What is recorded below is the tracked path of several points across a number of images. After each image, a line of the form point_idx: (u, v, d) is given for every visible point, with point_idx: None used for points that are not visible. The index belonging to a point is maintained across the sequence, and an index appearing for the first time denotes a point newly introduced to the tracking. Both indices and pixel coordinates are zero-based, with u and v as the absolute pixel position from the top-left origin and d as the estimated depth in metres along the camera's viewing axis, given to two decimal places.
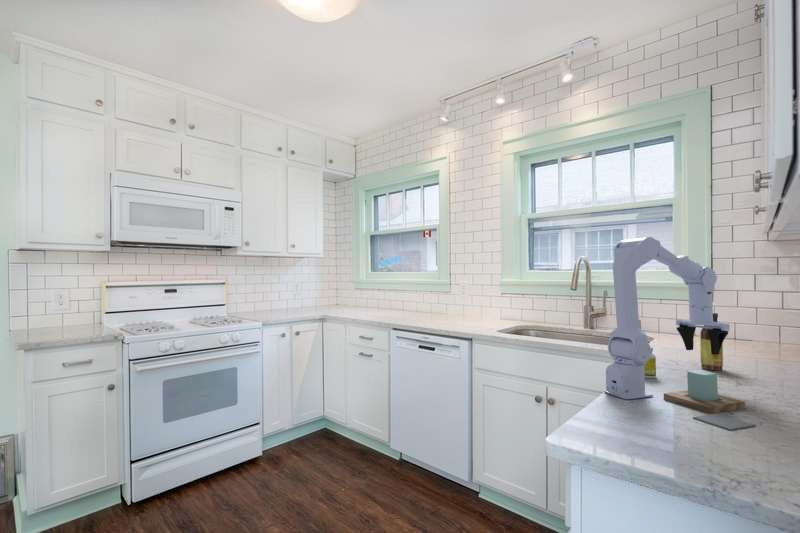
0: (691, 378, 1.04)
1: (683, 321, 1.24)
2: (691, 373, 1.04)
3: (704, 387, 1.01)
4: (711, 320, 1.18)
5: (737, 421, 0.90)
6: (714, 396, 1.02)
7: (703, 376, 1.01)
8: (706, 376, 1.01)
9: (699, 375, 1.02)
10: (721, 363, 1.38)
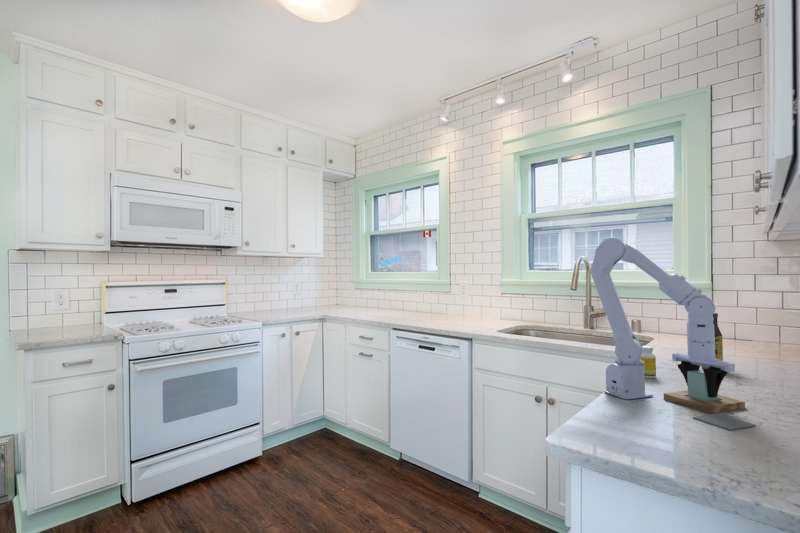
0: (691, 378, 1.04)
1: (681, 357, 1.07)
2: (691, 373, 1.04)
3: (704, 387, 1.01)
4: (713, 358, 1.01)
5: (737, 421, 0.90)
6: None
7: (703, 376, 1.01)
8: None
9: (699, 375, 1.02)
10: None
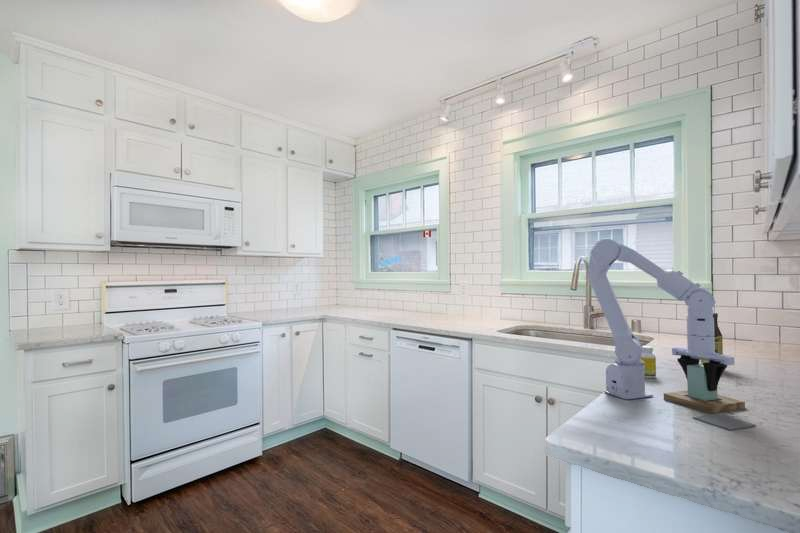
0: (691, 372, 1.04)
1: (680, 351, 1.07)
2: (691, 367, 1.04)
3: (704, 381, 1.01)
4: (713, 351, 1.01)
5: (737, 421, 0.90)
6: None
7: (703, 370, 1.01)
8: None
9: (699, 369, 1.02)
10: None
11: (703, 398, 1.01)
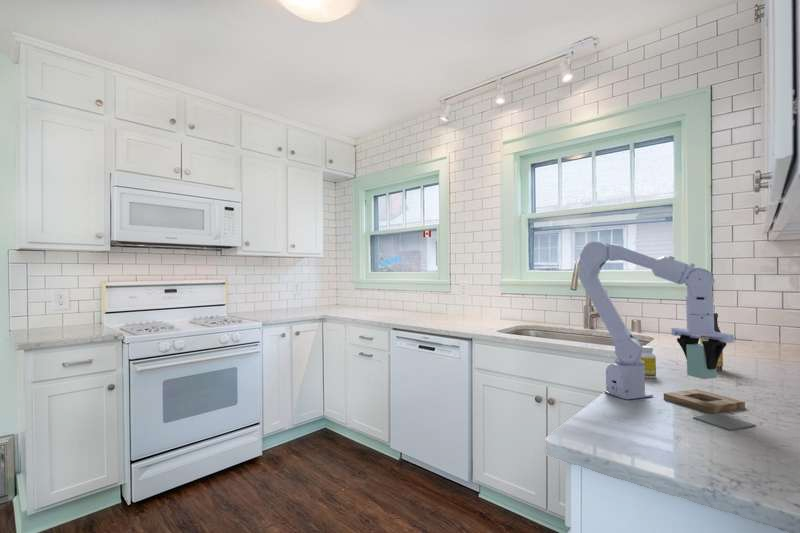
0: (690, 351, 1.04)
1: (680, 331, 1.08)
2: (690, 346, 1.04)
3: (703, 359, 1.01)
4: (712, 330, 1.02)
5: (737, 421, 0.90)
6: None
7: (702, 348, 1.02)
8: None
9: (698, 347, 1.02)
10: (721, 363, 1.38)
11: (702, 376, 1.01)
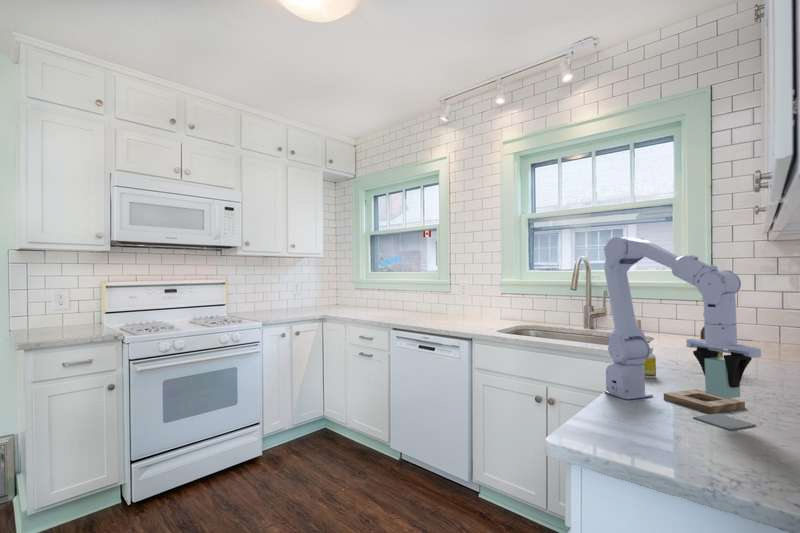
0: (709, 366, 0.91)
1: (696, 342, 0.94)
2: (709, 360, 0.91)
3: (725, 376, 0.88)
4: (735, 342, 0.88)
5: (737, 421, 0.90)
6: None
7: (723, 363, 0.88)
8: None
9: (719, 362, 0.89)
10: None
11: (724, 396, 0.88)
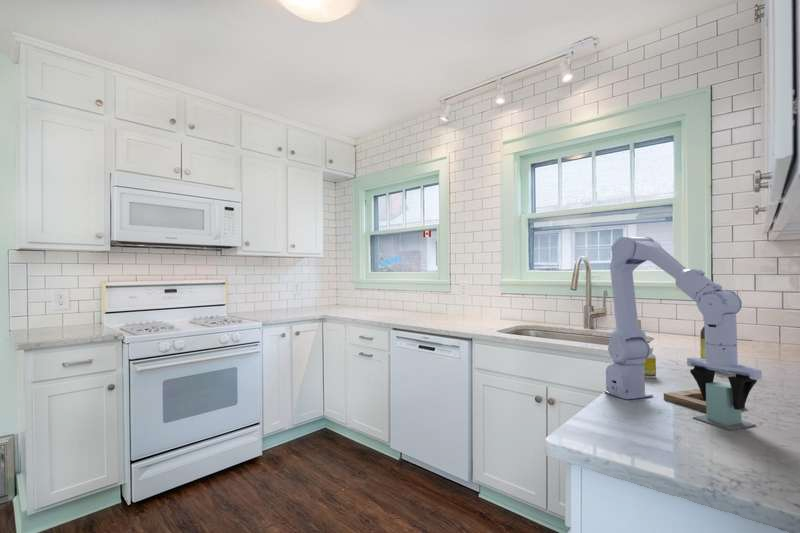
0: (710, 391, 0.91)
1: (697, 362, 0.94)
2: (710, 385, 0.91)
3: (726, 402, 0.88)
4: (735, 363, 0.88)
5: None
6: (737, 412, 0.89)
7: (725, 389, 0.88)
8: (728, 389, 0.88)
9: (720, 388, 0.89)
10: None
11: (725, 422, 0.88)
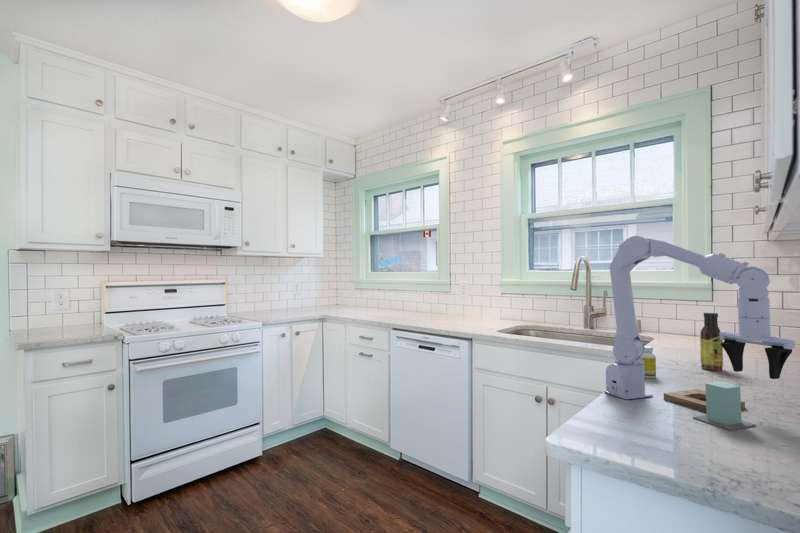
0: (710, 391, 0.91)
1: (730, 335, 0.99)
2: (710, 385, 0.91)
3: (726, 402, 0.88)
4: (768, 335, 0.93)
5: None
6: (737, 412, 0.89)
7: (724, 389, 0.88)
8: (728, 389, 0.88)
9: (720, 388, 0.89)
10: (721, 363, 1.38)
11: (725, 422, 0.88)
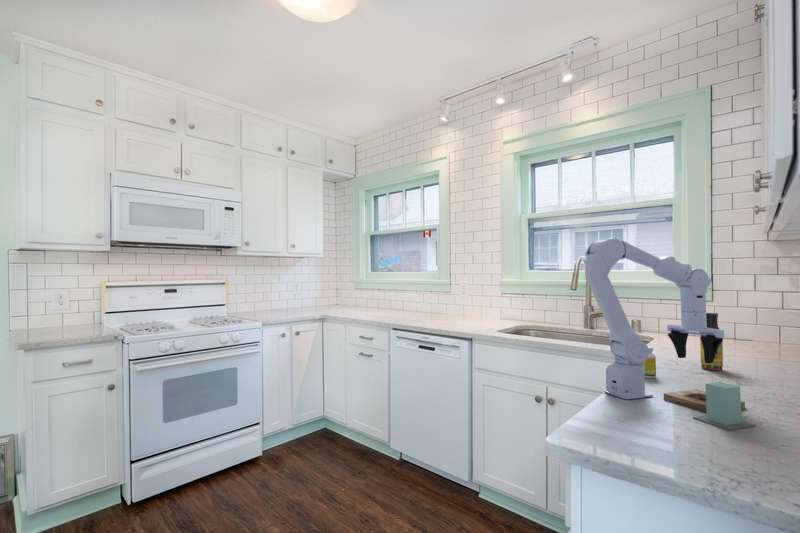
0: (710, 391, 0.91)
1: (675, 327, 1.16)
2: (710, 385, 0.91)
3: (726, 402, 0.88)
4: (704, 326, 1.10)
5: None
6: (737, 412, 0.89)
7: (724, 389, 0.88)
8: (728, 389, 0.88)
9: (720, 388, 0.89)
10: (721, 363, 1.38)
11: (725, 422, 0.88)
